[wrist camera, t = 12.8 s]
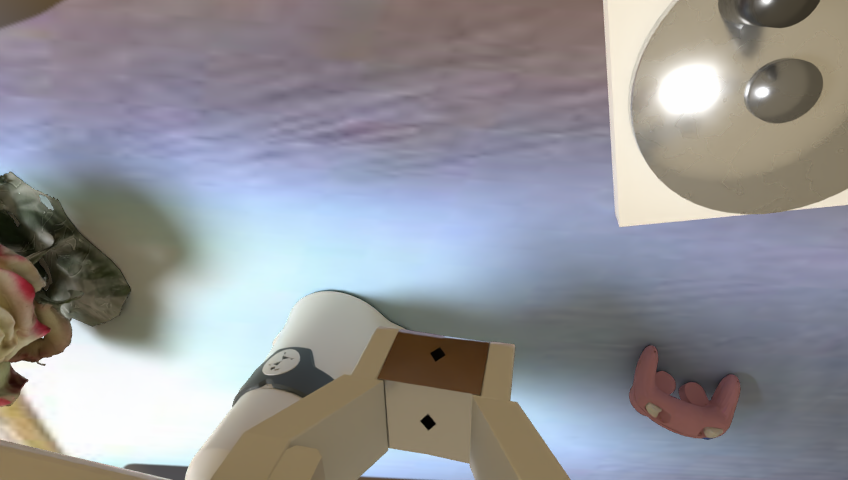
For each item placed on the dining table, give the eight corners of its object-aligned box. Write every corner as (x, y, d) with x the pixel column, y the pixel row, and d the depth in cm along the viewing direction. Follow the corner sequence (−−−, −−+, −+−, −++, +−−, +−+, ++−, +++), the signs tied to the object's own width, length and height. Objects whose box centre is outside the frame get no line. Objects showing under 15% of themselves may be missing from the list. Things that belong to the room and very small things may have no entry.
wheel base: (888, 184, 36) (917, 199, 34) (615, 213, 42) (620, 228, 40) (948, -128, 28) (993, -143, 25) (600, -38, 34) (605, -42, 31)
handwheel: (961, 132, 31) (1079, 169, 24) (681, 239, 39) (710, 290, 32) (892, -142, 26) (1015, -193, 19) (587, 41, 34) (597, 51, 27)
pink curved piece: (626, 355, 51) (620, 417, 47) (648, 339, 47) (644, 406, 43) (715, 387, 50) (717, 454, 46) (745, 374, 46) (750, 445, 42)
